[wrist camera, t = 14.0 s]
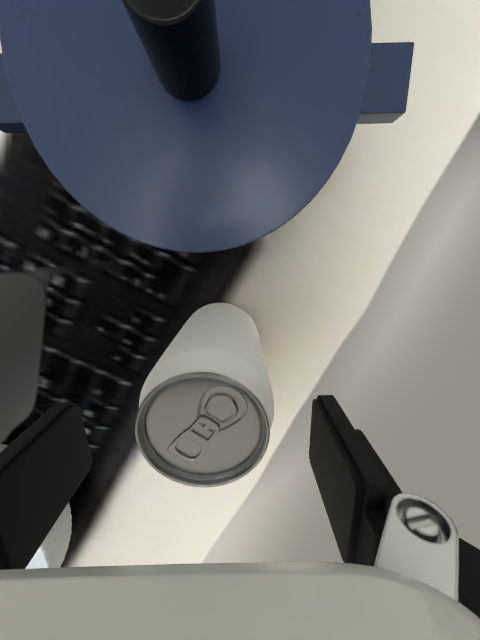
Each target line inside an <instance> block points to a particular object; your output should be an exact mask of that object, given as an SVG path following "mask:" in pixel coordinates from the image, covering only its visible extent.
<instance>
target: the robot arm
mask: <svg viewBox="0 0 480 640" xmlns="http://www.w3.org/2000/svg"><path fill="white" fill-rule="evenodd" d="M309 458H310V463H311V466H312V469H313V472H314V475H315V478H316V482H317V484H318V488H319V490H320V494H321V496H322V499H323V503H324V505H325V508H326V512H327V514H328V517H329V521H330V523H331V527H332V529H333V533H334V536H335V539H336V542H337V545H338V548H339V551H340V553H341V556H342V559H343V561H344V563H334V562H254V563H253V562H252V563H208V564H167V565H131V566H97V567H67V568H38V569H25V568H26V567H27V566H28V564H29V563H30V561H31V559H32V558H33V556H34V555H35V553H36V552H37V550H38V549H39V547H40V546H41V544H42V543H43V541H44V539H45V538H46V536H47V535H48V533H49V532H50V530H51V529H52V527H53V526H54V524H55V523H56V521H57V519H58V518H59V516H60V515H61V513H62V512H63V510H64V509H65V507H66V506H67V504H68V503H69V501H70V500H71V498H72V496H73V495H74V493H75V492H76V490H77V489H78V487H79V486H80V484H81V483H82V481H83V480H84V478H85V476H86V475H87V473H88V472H89V470H90V468H91V466H92V457H91V452H90V448H89V444H88V440H87V435H86V431H85V427H84V423H83V419H82V414H81V410H80V407H79V406H76V404H75V403H74V402H60V403H56V404H55V405H53V406H52V407H51V408H50V409H49V410H48V411H47V412H45V413H44V414H43V415H42V416H41V417H40V418H39V419H37V420H36V421H35V422H34V423H33V424H32V425H31V426H30V427H28V428H27V429H26V430H25V431H24V432H23V433H22V434H20V435H19V436H18V437H17V438H16V439H15V440H14V441H13V442H11V443H10V444H9V445H8V446H7V447H6V448H5V449H3V450H2V451H1V452H0V640H480V550H479V549H477V548H476V547H474V546H472V545H471V544H469V543H467V542H466V541H464V540H462V539H461V538H459V536H458V531H457V528H456V527H455V525H454V523H453V521H452V519H451V518H450V517H449V516H448V515H447V514H446V513H445V511H443V510H442V509H441V508H440V507H439V506H437V505H436V504H435V503H433V502H431V501H429V500H428V499H426V498H424V497H421V496H419V495H416V494H411V493H402V491H401V490H400V488H399V487H398V485H397V484H396V482H395V481H394V479H393V478H392V476H391V475H390V473H389V472H388V470H387V469H386V467H385V466H384V464H383V462H382V461H381V459H380V458H379V456H378V455H377V453H376V452H375V450H374V449H373V447H372V446H371V444H370V443H369V441H368V440H367V438H366V437H365V435H364V434H363V433H362V432H361V430H358V429H354V428H353V426H352V425H351V423H350V421H349V420H348V418H347V417H346V415H345V413H344V412H343V410H342V409H341V407H340V405H339V404H338V402H337V401H336V399H335V397H334V396H333V395H318V397H317V399H314V400H313V403H312V417H311V433H310V449H309Z"/></svg>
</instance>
